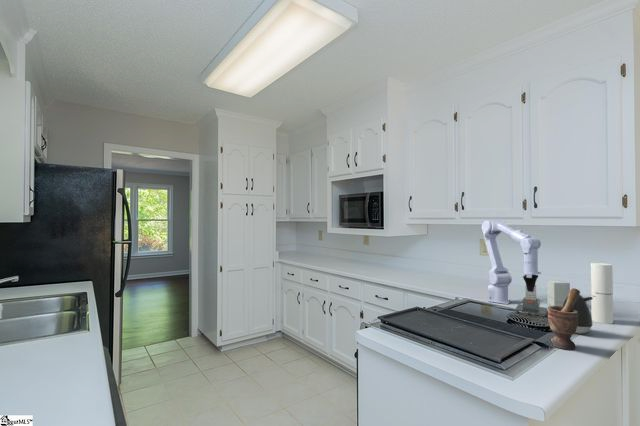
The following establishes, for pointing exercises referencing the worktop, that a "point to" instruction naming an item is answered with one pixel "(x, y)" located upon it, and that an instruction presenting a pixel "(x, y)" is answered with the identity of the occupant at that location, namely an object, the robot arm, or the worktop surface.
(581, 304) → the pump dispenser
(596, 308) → the cylindrical container
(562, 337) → the mortar and pestle
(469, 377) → the worktop surface
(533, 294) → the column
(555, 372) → the worktop surface
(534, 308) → the stand
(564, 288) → the supplement box
